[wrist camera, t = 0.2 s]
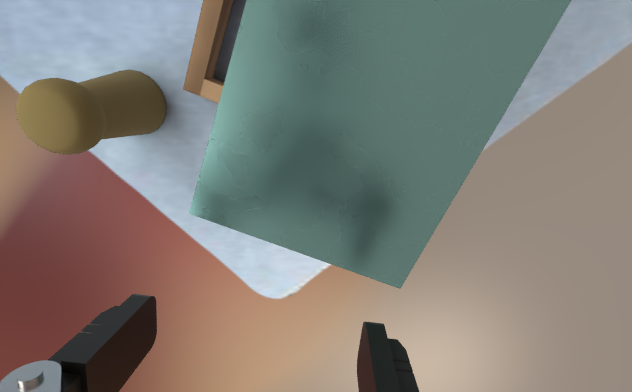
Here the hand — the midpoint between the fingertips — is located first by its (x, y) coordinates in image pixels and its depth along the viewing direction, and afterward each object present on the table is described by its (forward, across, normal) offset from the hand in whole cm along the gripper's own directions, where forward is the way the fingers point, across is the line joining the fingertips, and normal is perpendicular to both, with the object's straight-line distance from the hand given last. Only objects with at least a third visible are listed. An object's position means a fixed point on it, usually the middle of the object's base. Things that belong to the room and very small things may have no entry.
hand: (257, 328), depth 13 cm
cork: (+22, +17, -7) cm, 28 cm away
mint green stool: (+21, -3, -11) cm, 24 cm away
